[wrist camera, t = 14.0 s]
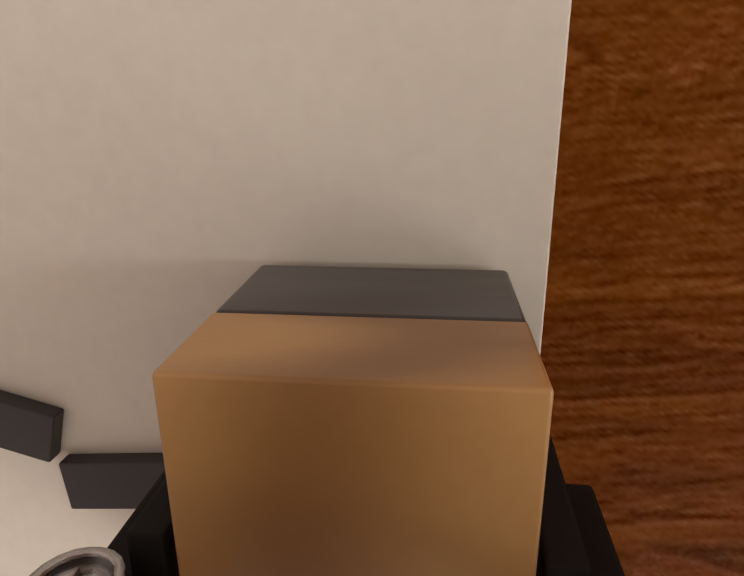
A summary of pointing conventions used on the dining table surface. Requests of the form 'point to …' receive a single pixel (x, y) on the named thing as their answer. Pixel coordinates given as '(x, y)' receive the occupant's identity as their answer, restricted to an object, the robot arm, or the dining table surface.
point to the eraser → (358, 427)
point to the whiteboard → (242, 187)
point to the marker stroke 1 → (30, 426)
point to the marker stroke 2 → (110, 479)
